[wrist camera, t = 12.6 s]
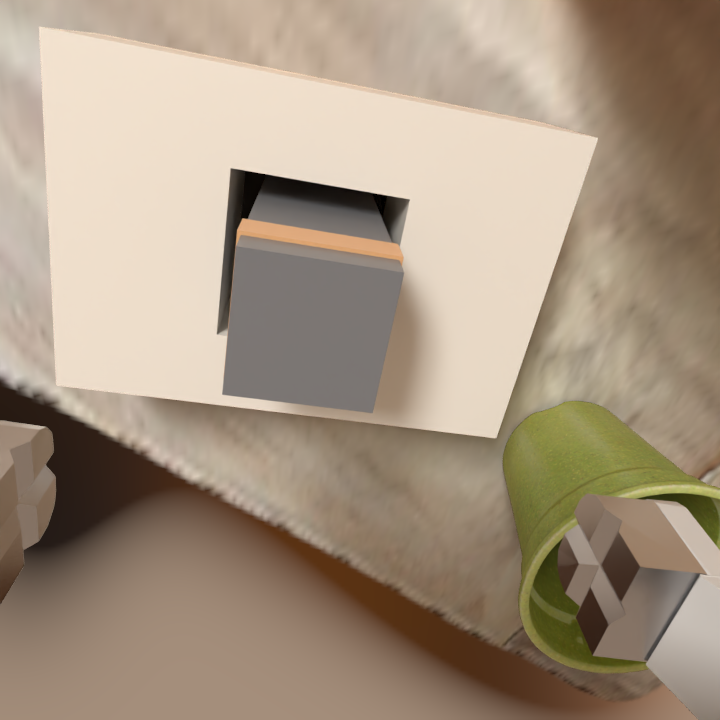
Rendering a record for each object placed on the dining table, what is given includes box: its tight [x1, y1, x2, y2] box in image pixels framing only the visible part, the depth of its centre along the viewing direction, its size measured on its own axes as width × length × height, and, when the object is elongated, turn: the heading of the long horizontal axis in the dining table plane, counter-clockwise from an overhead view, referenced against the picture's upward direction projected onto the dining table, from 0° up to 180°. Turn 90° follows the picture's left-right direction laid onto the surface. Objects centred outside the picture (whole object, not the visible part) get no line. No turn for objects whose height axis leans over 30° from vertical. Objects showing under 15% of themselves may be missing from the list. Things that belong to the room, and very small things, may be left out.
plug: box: [222, 174, 404, 413], centre depth 19 cm, size 4×4×10 cm
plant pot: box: [503, 401, 720, 673], centre depth 26 cm, size 9×9×9 cm
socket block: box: [39, 27, 598, 438], centre depth 21 cm, size 16×11×5 cm
